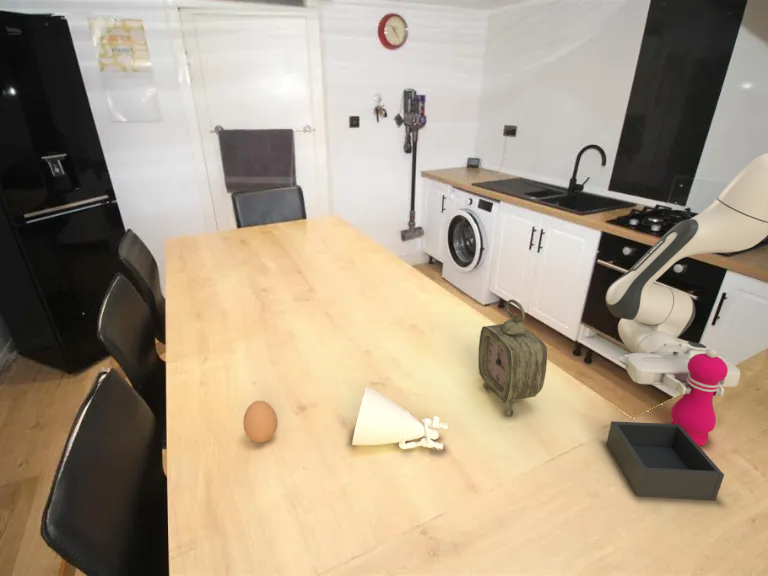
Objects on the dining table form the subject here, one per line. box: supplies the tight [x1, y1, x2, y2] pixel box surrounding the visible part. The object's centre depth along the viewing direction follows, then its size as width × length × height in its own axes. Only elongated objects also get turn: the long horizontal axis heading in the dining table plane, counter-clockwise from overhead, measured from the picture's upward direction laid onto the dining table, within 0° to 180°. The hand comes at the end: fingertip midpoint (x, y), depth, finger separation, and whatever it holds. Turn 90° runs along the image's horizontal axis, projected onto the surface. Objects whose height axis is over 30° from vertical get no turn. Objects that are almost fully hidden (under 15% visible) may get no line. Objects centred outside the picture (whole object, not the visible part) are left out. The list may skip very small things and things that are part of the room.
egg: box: [242, 400, 278, 443], centre depth 84 cm, size 7×7×9 cm
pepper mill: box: [670, 347, 728, 447], centre depth 80 cm, size 7×7×20 cm
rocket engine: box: [351, 386, 449, 451], centre depth 82 cm, size 12×12×18 cm
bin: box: [606, 420, 725, 501], centre depth 74 cm, size 13×13×6 cm
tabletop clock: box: [477, 299, 548, 417], centre depth 92 cm, size 14×9×25 cm, turn 14°
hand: (703, 392), depth 79 cm, fingers closed on pepper mill, 4 cm apart
